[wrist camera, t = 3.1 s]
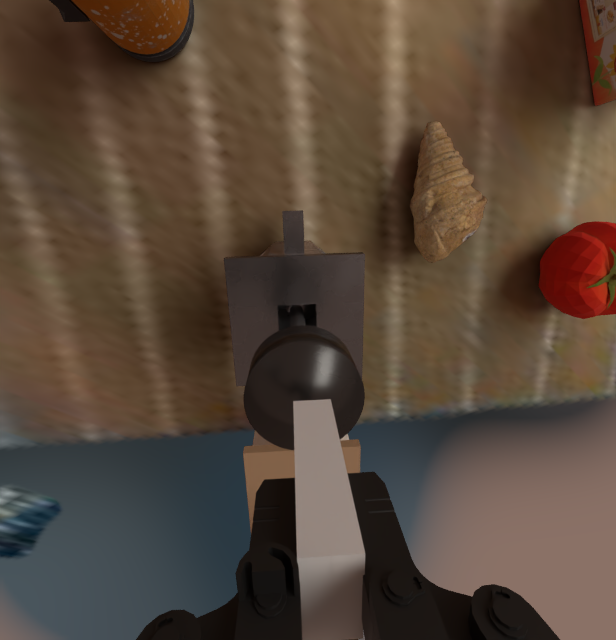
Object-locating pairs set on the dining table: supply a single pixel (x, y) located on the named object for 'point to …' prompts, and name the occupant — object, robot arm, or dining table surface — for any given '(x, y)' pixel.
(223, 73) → the dining table surface
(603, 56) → the cracker box
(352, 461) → the ceramic press carafe
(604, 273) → the tomato
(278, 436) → the steel plunger
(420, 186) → the seashell
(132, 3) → the canister
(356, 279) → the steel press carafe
